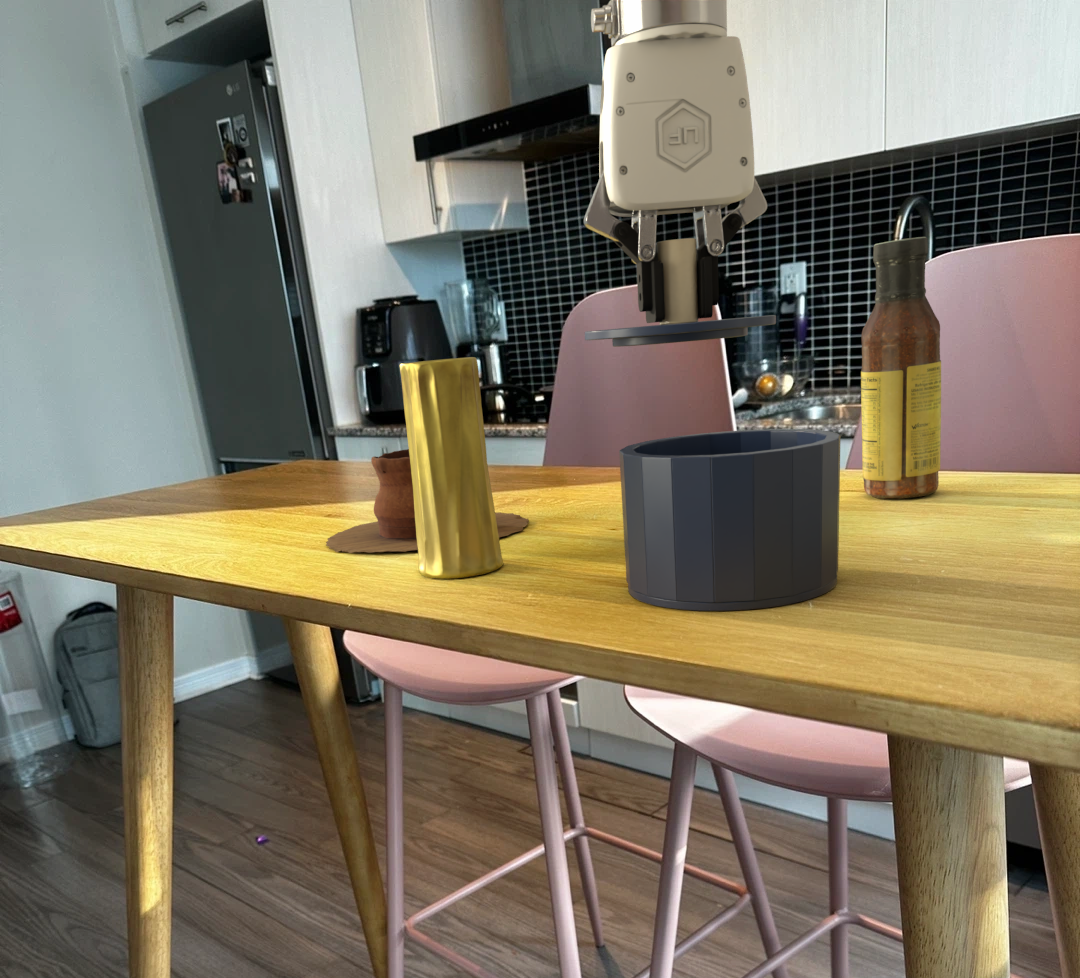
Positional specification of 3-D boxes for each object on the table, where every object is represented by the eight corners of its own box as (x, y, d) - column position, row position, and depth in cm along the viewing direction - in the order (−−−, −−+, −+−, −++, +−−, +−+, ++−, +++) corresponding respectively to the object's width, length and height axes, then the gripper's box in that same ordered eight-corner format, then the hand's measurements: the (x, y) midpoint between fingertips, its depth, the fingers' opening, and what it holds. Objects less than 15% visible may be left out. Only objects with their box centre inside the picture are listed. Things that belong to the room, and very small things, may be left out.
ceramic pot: (505, 549, 80) (496, 456, 77) (292, 559, 83) (276, 471, 81) (545, 509, 96) (538, 431, 94) (365, 519, 100) (355, 445, 97)
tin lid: (712, 336, 84) (710, 245, 81) (815, 330, 71) (816, 224, 69) (556, 350, 79) (549, 255, 77) (638, 347, 67) (633, 234, 65)
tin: (759, 552, 71) (758, 425, 68) (883, 586, 60) (888, 435, 57) (594, 582, 67) (585, 448, 64) (693, 624, 56) (688, 463, 53)
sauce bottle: (936, 487, 89) (948, 236, 82) (942, 499, 84) (955, 231, 77) (857, 490, 91) (863, 245, 84) (858, 502, 86) (864, 241, 79)
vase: (484, 579, 70) (461, 359, 65) (404, 579, 72) (375, 366, 67) (515, 559, 76) (496, 354, 71) (439, 560, 78) (415, 361, 73)
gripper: (556, 15, 64) (576, 329, 71) (808, -1, 65) (805, 309, 72) (541, 47, 71) (561, 330, 78) (769, 33, 72) (770, 312, 79)
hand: (678, 317), depth 75 cm, fingers closed on tin lid, 2 cm apart
